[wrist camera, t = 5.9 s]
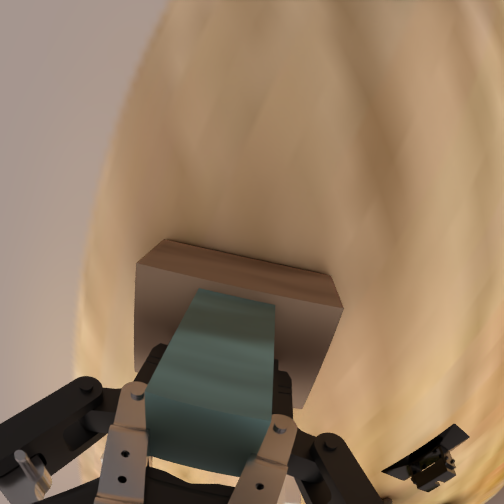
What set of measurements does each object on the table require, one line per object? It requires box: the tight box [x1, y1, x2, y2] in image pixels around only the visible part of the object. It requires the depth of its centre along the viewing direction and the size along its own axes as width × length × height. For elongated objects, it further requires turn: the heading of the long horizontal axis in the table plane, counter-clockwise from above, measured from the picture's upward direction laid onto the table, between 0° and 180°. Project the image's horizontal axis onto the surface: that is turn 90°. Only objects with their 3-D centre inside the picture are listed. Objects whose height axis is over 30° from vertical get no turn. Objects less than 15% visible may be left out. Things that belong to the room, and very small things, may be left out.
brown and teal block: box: [134, 239, 344, 477], centre depth 14 cm, size 7×10×11 cm
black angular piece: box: [381, 424, 469, 492], centre depth 22 cm, size 12×7×5 cm, turn 139°
